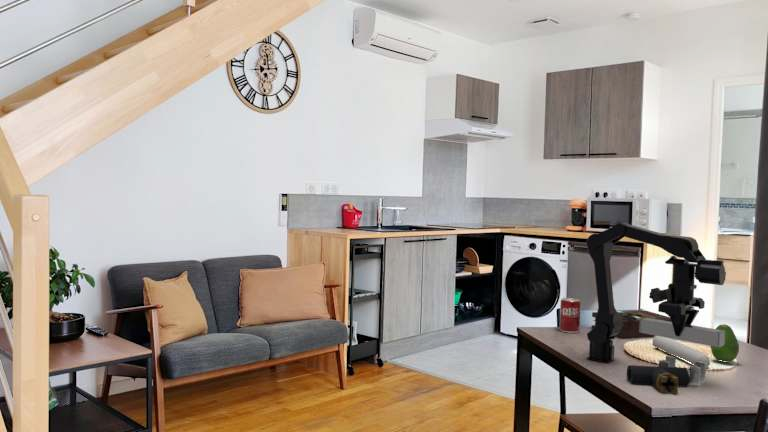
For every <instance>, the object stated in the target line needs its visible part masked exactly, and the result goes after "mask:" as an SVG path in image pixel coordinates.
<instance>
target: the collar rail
mask: <svg viewBox="0 0 768 432" xmlns="http://www.w3.org/2000/svg"><path fill="white" fill-rule="evenodd" d="M676 358H677V357H674V356H672V355H665V359H662V360H660V359H659V360H658V367H674V368H676V360H677V359H676ZM706 369H707V367H706V363H705V362H700V361H696V365H694V366H693V365H690V366H689V371H688V373H689V384H688V386H689V385H690V386H693V387H694V386H695V387H701V386H702V385H703V384H704V383H705V382H706V381H707V376H706Z"/></svg>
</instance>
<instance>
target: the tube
mask: <svg viewBox="0 0 768 432" xmlns="http://www.w3.org/2000/svg"><path fill="white" fill-rule="evenodd" d="M652 346H653V347H654V346H655V347H657V348H660V349H662V350H664V351H666V352H668V353H670V354H673V355H675V356H678V357H680V358H683V359H685V360H687V361H689V362H691V363H692V364H694V365H696V361H700V362H705V363H706V368H707V367H709V366H710V365H711V362H710V361H711V360H710V356H708V355H707V354H706V353H704V352H702V351H700V350H697V349H695V348H693V347H690V346H689V345H686V344H684V343H681V342H679V341H676V339H672V338H666V337H661V336H655V337H652ZM655 347H654V348H655ZM657 348H656V349H657ZM660 349H659V350H660ZM662 350H661V351H662ZM664 351H663V352H664ZM666 352H665V353H666ZM668 353H667V354H668ZM670 354H669V355H670Z"/></svg>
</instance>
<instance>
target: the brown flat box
mask: <svg viewBox="0 0 768 432" xmlns="http://www.w3.org/2000/svg"><path fill="white" fill-rule="evenodd" d="M597 311H598V308H597V309H596V311H593V312H592V315H591V318H594V319H592V321H594V322H595V318H596V315H597ZM616 311H617V313H620V312H621V313H622V322H623V324H624V325H623V326H622V329H621V331H620V332H619V333H618V334H617V335H616V336H615V339H616V338H617V339H619V340H629V339H648V338H652V339H653V338H654V337H655V336H656V335H650V334H645V333H640V332H639V328H640V319H642V318H645V317H647V318H652V319H658V320H664V321H670V322H672V321H671V318H670V317H669V316H668V315H663V314H659V313H655V312H652V311H648V310H628V311H627V310H626V311H625V310H623V311H622V310H621V311H620V310H616ZM590 328H591V330H592V329H594V328H595V324H594V325H593V324H592V325H591V327H590Z"/></svg>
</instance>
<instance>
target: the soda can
mask: <svg viewBox="0 0 768 432" xmlns="http://www.w3.org/2000/svg"><path fill="white" fill-rule="evenodd" d="M581 307H582V303H581V299H579V298H578V299H577V298H571V297H565V298H563V297H562V298H561V299H560V310H559V330H560V332H563V333H567V334H578V333H579V332H580V330H581V329H580V325H581V310H582V309H581Z"/></svg>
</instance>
